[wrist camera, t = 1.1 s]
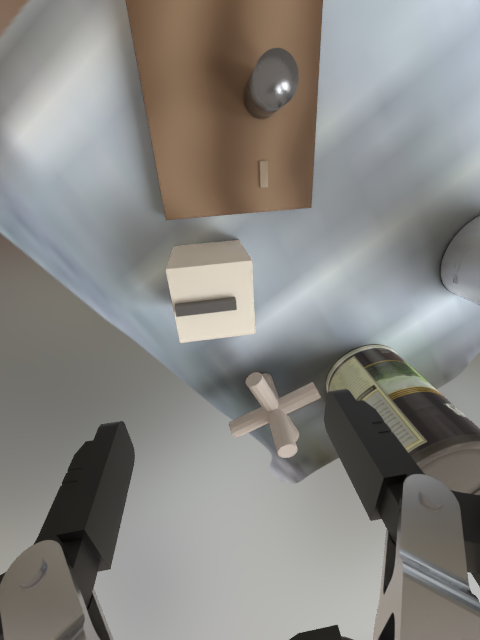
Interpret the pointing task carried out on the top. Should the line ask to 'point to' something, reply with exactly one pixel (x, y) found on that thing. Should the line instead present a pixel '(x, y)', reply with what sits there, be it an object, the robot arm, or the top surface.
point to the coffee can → (413, 414)
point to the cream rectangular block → (211, 290)
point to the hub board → (226, 103)
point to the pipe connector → (274, 412)
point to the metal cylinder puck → (271, 83)
